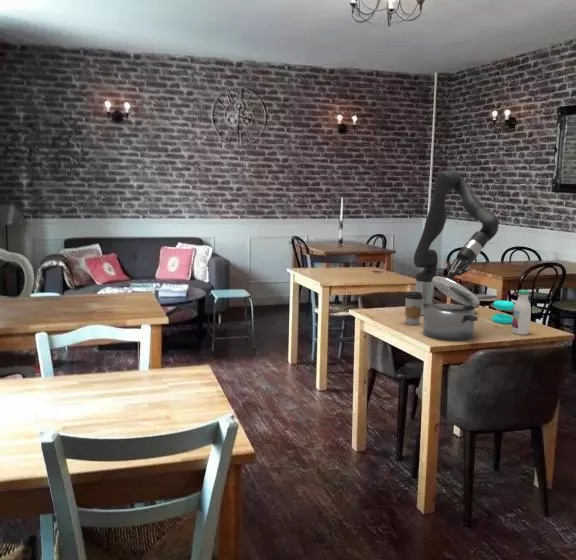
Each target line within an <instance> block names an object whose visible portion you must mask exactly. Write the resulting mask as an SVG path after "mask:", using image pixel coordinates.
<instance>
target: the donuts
mask: <svg viewBox="0 0 576 560" xmlns="http://www.w3.org/2000/svg"><path fill="white" fill-rule="evenodd" d="M492 304H493V305H492V306H493V307H494V308H495V309H496V310H500V311H511V310H513V309H514V305H515V303H514V302H513V301H510V300H495V301H493V303H492ZM512 319H513V315H510V314H507V313H496V314H494V315H492V317H491V320H492V322H495V323H497V324H503V325H504V324H508V325H509V324H512Z"/></svg>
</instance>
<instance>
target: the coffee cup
mask: <svg viewBox="0 0 576 560" xmlns="http://www.w3.org/2000/svg"><path fill="white" fill-rule="evenodd" d="M405 293H406V294H405V296H404V297H405V306H404V307H405V313H404V315H405V323H406V325H409V326H417V325H419V324H420V318H421V315H420V314H421V305H422V299H423V296H422V293H420V292H415V291H407V292H405Z"/></svg>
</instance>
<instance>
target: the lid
mask: <svg viewBox="0 0 576 560" xmlns="http://www.w3.org/2000/svg"><path fill="white" fill-rule="evenodd" d="M432 283H433V285H434V288H436V289H437V290H438V291H439V292H441V293H442V294H443V295H445V296H446V297H448V298H450V300H451V299H453V300H455V301H457V302H459V303H462V304H464V305H465V306H469V307H473V308H474V307H477V306H479V305H480V300H479V299H480V298H479V297H478V296H476V295H475V294H474V293H473V292H472V291H471V290H469V289H468V288H466V286H463V285H462V284H460V283H458V282H456V281H454V280H453V279H452V280H450V279H447V278H446V277H444V276H439V275H436V276H435V277H433V279H432ZM477 308H478V307H477Z"/></svg>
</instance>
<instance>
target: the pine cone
mask: <svg viewBox="0 0 576 560" xmlns="http://www.w3.org/2000/svg"><path fill="white" fill-rule="evenodd" d="M450 302H451V304H456V305H463V306H465V305H464V304H462V303H459V302H457V301H455V300H453V299H451V298H450ZM467 307H469V306H467ZM471 308H473V307H471ZM476 308H477V309H478V308H479V305H478V306H477V307H474V308H473V309H474V310H476Z"/></svg>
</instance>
